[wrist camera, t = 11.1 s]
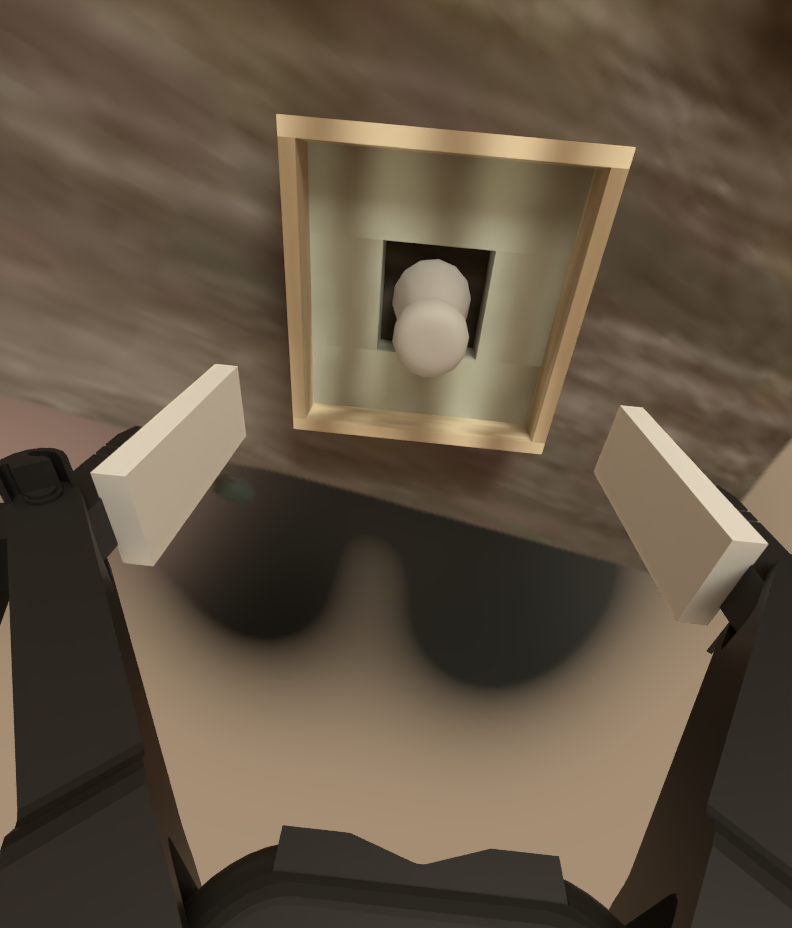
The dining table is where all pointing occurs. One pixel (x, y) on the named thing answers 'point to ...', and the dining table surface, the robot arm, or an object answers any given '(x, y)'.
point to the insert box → (446, 224)
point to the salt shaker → (431, 318)
